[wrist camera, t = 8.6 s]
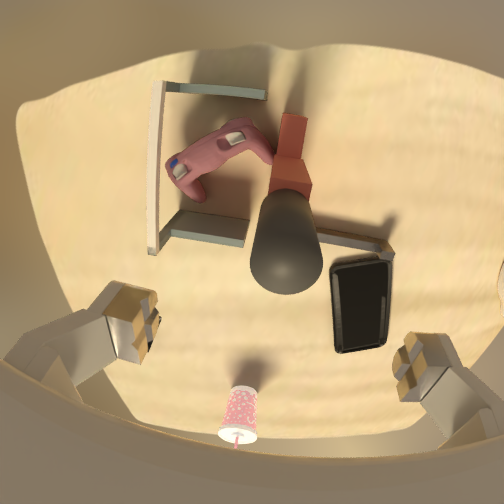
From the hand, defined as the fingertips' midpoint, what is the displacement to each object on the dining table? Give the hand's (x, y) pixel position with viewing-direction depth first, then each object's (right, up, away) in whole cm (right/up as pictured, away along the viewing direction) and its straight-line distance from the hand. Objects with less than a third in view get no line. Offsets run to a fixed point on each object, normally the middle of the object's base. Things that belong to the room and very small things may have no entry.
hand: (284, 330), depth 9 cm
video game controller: (-4, +12, +21) cm, 24 cm away
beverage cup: (-2, -22, +39) cm, 45 cm away
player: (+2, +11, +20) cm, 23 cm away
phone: (+13, -5, +28) cm, 32 cm away
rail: (+7, +4, +23) cm, 25 cm away
